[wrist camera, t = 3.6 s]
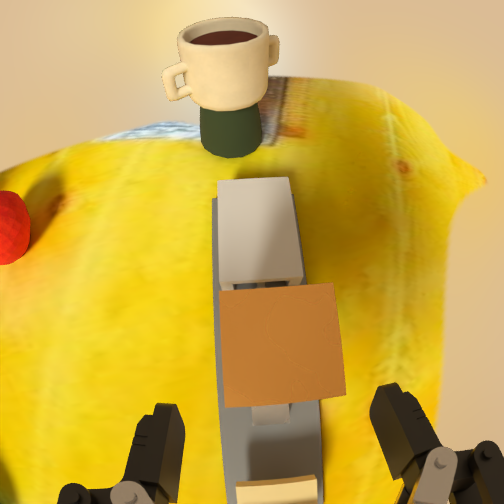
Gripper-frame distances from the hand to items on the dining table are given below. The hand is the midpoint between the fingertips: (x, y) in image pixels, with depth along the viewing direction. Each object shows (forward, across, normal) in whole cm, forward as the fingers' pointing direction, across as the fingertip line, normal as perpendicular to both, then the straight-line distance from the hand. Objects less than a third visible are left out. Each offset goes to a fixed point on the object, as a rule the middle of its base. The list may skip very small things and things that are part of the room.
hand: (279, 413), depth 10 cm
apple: (+17, +26, -3) cm, 31 cm away
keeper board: (+9, 0, +5) cm, 10 cm away
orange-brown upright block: (+11, 0, +2) cm, 11 cm away
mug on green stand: (+24, +2, -10) cm, 26 cm away
